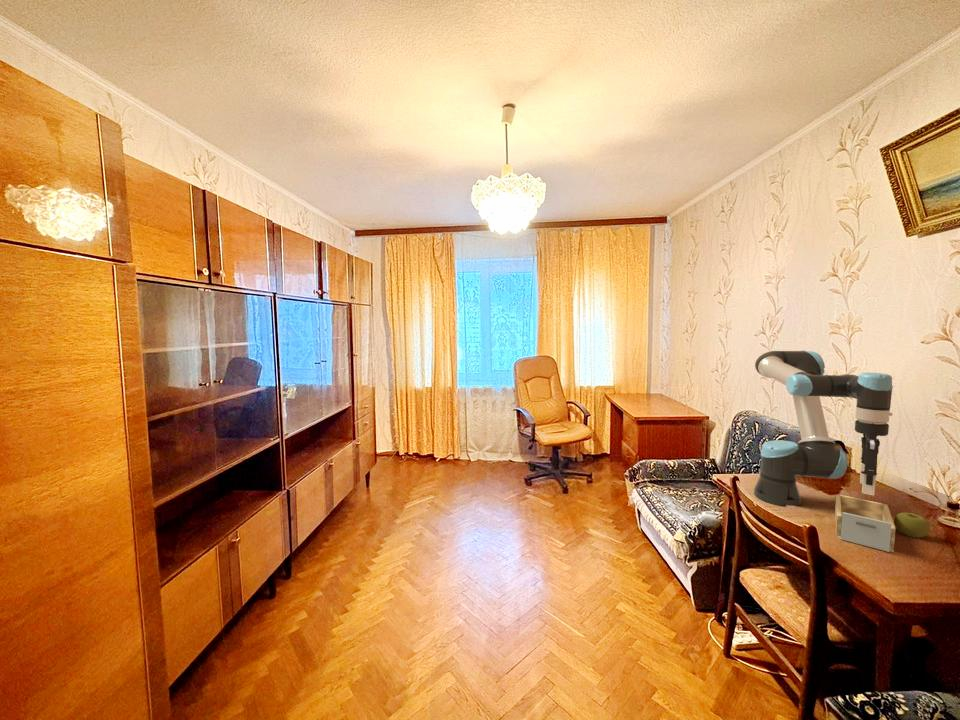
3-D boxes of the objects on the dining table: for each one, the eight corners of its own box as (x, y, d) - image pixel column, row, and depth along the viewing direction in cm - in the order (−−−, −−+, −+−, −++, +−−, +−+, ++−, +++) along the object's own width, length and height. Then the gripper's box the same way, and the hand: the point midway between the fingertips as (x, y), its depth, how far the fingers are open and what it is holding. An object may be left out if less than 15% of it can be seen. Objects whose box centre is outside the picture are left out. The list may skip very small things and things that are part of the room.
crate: (835, 539, 125) (837, 516, 125) (834, 514, 142) (836, 493, 141) (893, 554, 117) (895, 530, 116) (885, 526, 133) (887, 504, 132)
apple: (931, 545, 122) (933, 523, 121) (894, 536, 127) (896, 515, 126) (926, 535, 127) (928, 515, 126) (891, 527, 132) (893, 507, 132)
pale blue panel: (840, 539, 124) (842, 513, 123) (840, 538, 124) (842, 511, 124) (889, 552, 116) (891, 524, 115) (888, 550, 117) (891, 523, 116)
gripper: (893, 430, 111) (887, 504, 113) (885, 416, 127) (879, 481, 129) (857, 426, 116) (852, 497, 118) (853, 413, 132) (849, 475, 134)
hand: (866, 488), depth 123 cm, fingers open, 9 cm apart
